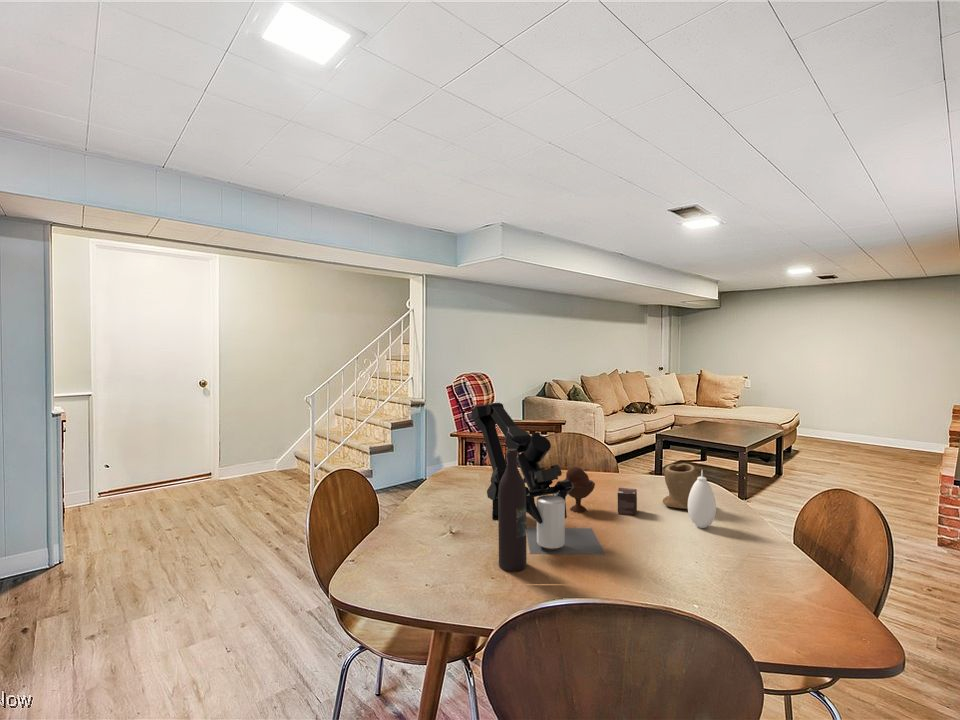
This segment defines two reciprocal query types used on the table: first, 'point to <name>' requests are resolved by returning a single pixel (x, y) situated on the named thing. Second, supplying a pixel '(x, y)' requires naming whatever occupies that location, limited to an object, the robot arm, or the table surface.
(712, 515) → the white air blower bulb
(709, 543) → the table surface
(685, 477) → the stone cup
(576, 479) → the ice cream bowl
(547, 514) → the cover cup
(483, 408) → the robot arm
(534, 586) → the table surface
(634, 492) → the box
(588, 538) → the mat
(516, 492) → the wine bottle
